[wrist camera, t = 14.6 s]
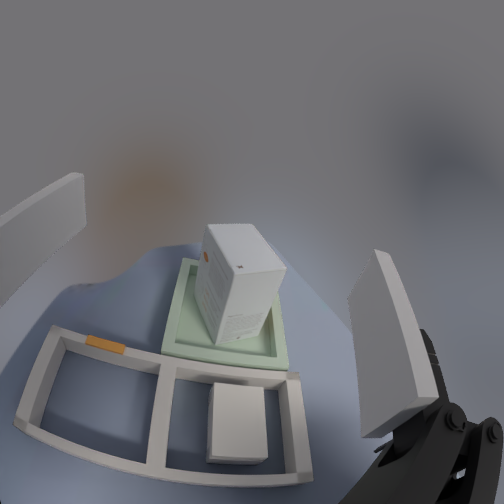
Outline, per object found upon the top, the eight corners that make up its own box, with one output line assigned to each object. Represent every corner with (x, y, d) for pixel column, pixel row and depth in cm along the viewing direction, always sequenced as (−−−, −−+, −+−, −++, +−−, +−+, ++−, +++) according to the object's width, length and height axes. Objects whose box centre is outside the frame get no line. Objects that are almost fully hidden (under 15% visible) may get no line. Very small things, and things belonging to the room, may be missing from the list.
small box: (258, 337, 31) (290, 269, 25) (213, 347, 28) (234, 274, 22) (232, 290, 36) (253, 222, 31) (192, 294, 34) (205, 222, 28)
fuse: (253, 400, 25) (263, 386, 23) (256, 465, 19) (268, 458, 17) (208, 396, 24) (213, 381, 22) (205, 462, 18) (211, 456, 16)
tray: (270, 287, 40) (275, 275, 39) (280, 378, 28) (289, 367, 26) (181, 271, 38) (183, 257, 36) (160, 362, 26) (160, 350, 24)
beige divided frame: (289, 382, 28) (299, 370, 26) (301, 484, 18) (315, 480, 16) (58, 338, 23) (51, 322, 21) (24, 433, 13) (11, 423, 12)
